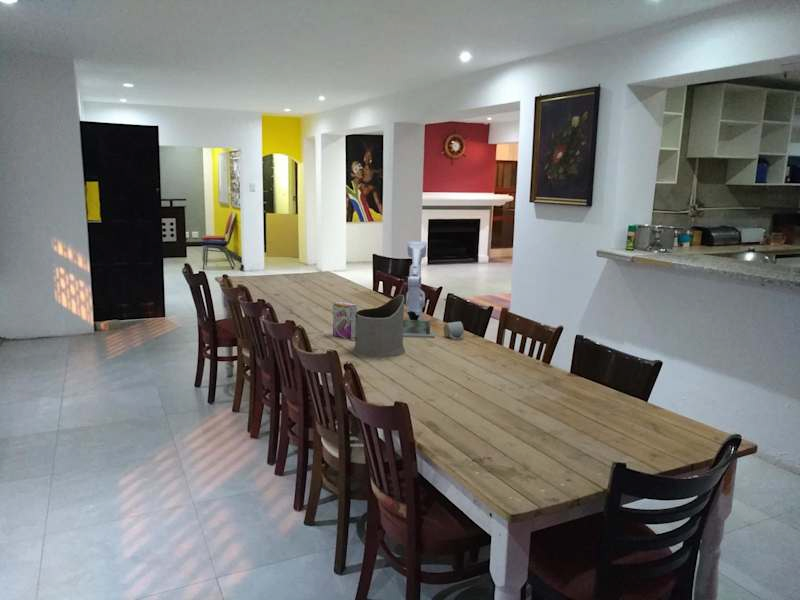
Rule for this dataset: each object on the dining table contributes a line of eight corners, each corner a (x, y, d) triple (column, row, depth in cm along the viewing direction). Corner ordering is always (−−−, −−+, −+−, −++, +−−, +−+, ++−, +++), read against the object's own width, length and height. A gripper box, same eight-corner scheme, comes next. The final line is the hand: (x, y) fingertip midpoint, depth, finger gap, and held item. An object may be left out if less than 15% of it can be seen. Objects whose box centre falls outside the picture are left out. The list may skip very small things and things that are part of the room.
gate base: (393, 332, 306) (394, 319, 305) (433, 334, 306) (434, 320, 304) (393, 336, 298) (393, 322, 297) (434, 337, 298) (434, 323, 297)
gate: (401, 331, 303) (401, 320, 302) (401, 331, 304) (401, 319, 303) (429, 332, 302) (430, 321, 301) (429, 331, 304) (430, 320, 303)
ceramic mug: (442, 335, 303) (443, 320, 301) (457, 334, 305) (458, 319, 304) (450, 341, 293) (451, 325, 291) (466, 340, 296) (467, 325, 294)
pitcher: (411, 356, 265) (413, 300, 260) (339, 360, 256) (339, 302, 252) (397, 343, 287) (398, 290, 282) (330, 346, 278) (330, 292, 273)
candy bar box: (332, 336, 297) (332, 302, 294) (338, 334, 301) (338, 301, 298) (350, 339, 291) (351, 305, 288) (357, 337, 296) (357, 304, 292)
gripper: (402, 297, 310) (401, 323, 312) (410, 302, 296) (410, 330, 299) (415, 296, 312) (414, 322, 314) (424, 302, 298) (423, 329, 301)
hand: (413, 326), depth 307 cm, fingers closed
